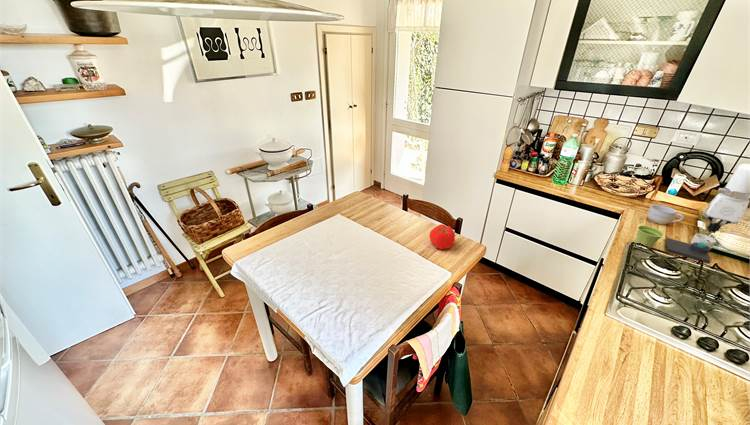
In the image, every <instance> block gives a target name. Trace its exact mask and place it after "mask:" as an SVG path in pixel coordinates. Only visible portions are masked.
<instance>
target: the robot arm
mask: <svg viewBox="0 0 750 425" xmlns="http://www.w3.org/2000/svg"><path fill="white" fill-rule="evenodd" d="M717 191H718V192H719V193H718V194H717V195H715V197H714V198H713V199H712V200H711V201H710V202H709V204H708V205H707V207H706V208H705V211H704V212H703V213H702V214H701V215H702V217H704V218H705V219H708V221H709V224H708V225H707V227H706V229H707V231H708V232H709V233H713V234H716V233H717V232H719V230H720V229H721V228H722V227H723V226H724V225H728V224H735V225H737V224H739V222H740V221H741V220H742V218H743V216H744V215H745V213H746V211H747V209H748V206H749V204H750V199H749V198H750V163H747V162H746V163H741V164H739V165H738V166H737V167H736V169H735V170H734V172H733V174H732V175H731V177H730V179H729V180H728V181H727V184H726V185H725V186H724V187H719V188H718V189H717ZM718 220H719V221H718ZM717 221H718V222H717Z"/></svg>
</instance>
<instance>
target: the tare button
mask: <svg viewBox="0 0 750 425" xmlns="http://www.w3.org/2000/svg"><path fill="white" fill-rule="evenodd" d="M697 246H698V247H700V248H704V249H705V248H706V247H707V244H705V243H702V242H699V243H698V244H697Z"/></svg>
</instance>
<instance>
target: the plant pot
mask: <svg viewBox="0 0 750 425" xmlns="http://www.w3.org/2000/svg"><path fill="white" fill-rule="evenodd" d="M664 234H665V233H664V232H663V231H661V230H660V229H658V228H656V227H652V226H649V225H638V226H637V233H636V237H635V240H634V243H641V244H643V245H645V246H648V247H650V248H651V249H652V248H653V247H654V246H655V244H656V243H657V242H658V241H659V240H660V239H661V238H662V237H664V236H665V235H664Z"/></svg>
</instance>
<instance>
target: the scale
mask: <svg viewBox="0 0 750 425" xmlns="http://www.w3.org/2000/svg"><path fill="white" fill-rule="evenodd" d="M664 240H665V248H666V252H667V253H671V254H674V255H678V256H682V257H685V258H688V259H692V260H695V261H699V260H700V259H703V262H702V263H706V264H710V262H711V259H710V256H709V253H710V251H711V250H712V248H711V249H710V247H708V246H707V247H706V248H705V249H704V248H700V247H698V246H697V244H698V243H690V242H689V243H688V242H685V241H681V240H677V239H674V238H669V237H666V238H665V239H664Z"/></svg>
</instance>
